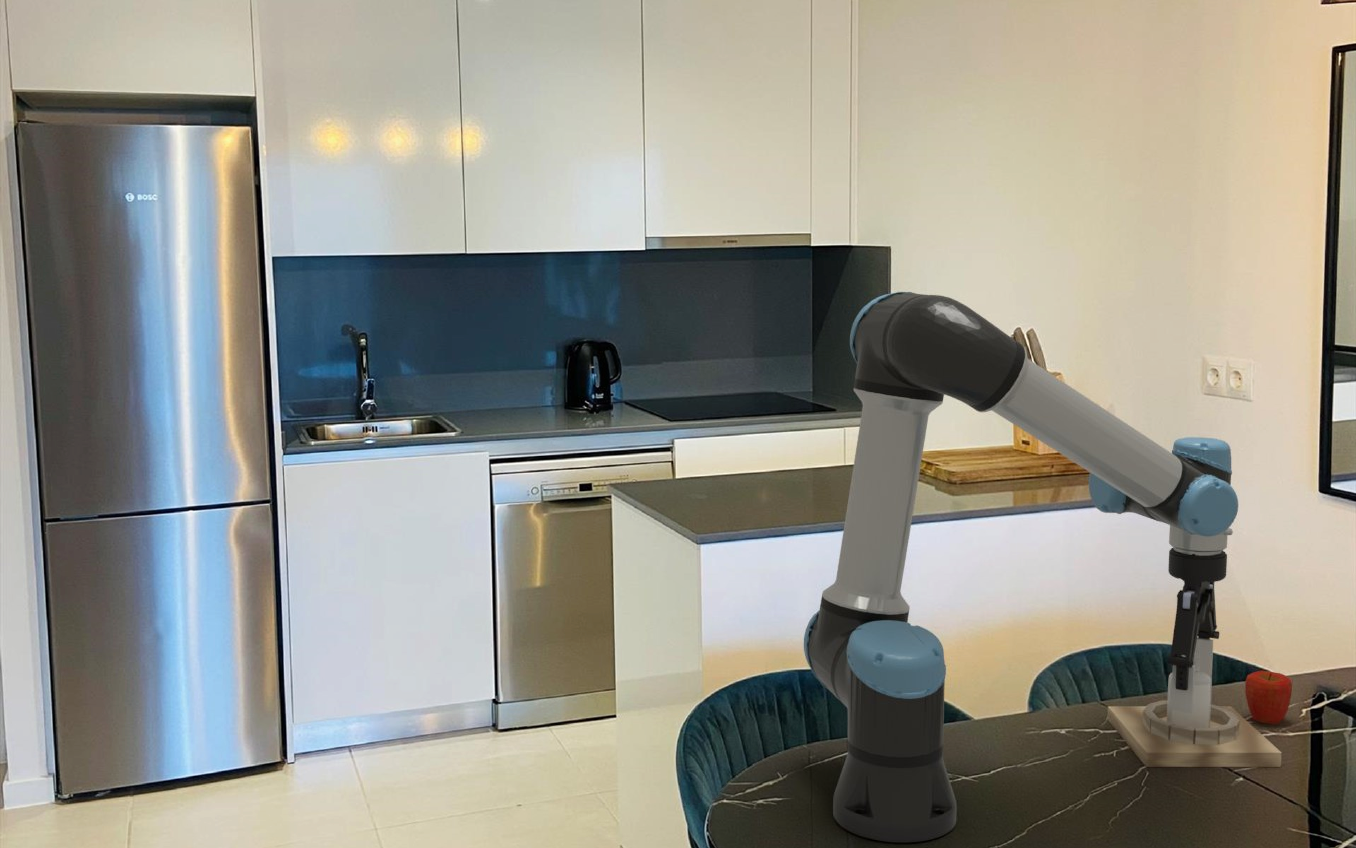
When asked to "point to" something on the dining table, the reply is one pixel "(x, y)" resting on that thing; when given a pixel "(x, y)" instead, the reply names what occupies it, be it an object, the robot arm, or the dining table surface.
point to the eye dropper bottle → (1200, 701)
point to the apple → (1268, 696)
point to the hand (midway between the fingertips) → (1191, 696)
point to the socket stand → (1192, 739)
